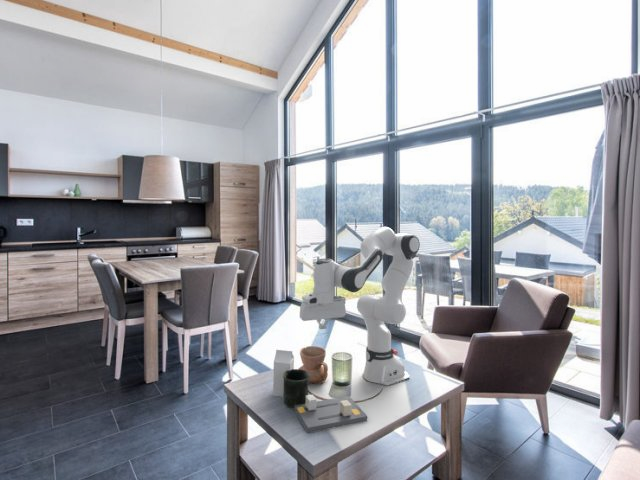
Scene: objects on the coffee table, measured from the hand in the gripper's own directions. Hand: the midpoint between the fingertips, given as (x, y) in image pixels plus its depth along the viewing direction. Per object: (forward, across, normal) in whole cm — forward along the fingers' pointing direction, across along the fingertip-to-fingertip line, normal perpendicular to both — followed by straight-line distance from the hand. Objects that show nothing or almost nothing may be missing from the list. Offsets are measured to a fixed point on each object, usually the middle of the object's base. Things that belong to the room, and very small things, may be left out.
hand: (322, 328), depth 161 cm
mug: (+29, +13, +3) cm, 32 cm away
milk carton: (+29, +16, -5) cm, 33 cm away
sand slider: (+27, -1, +22) cm, 34 cm away
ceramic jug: (+29, -1, -12) cm, 31 cm away
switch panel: (+29, +3, +18) cm, 34 cm away
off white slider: (+27, +10, +14) cm, 32 cm away
